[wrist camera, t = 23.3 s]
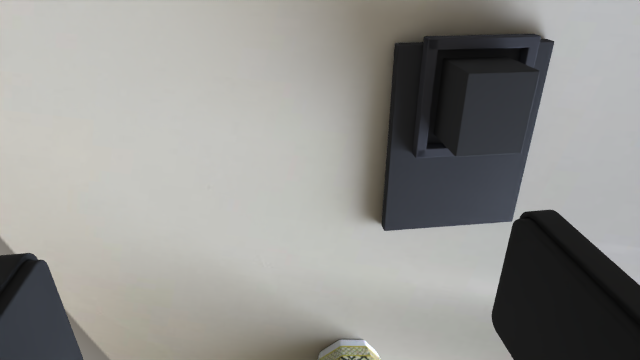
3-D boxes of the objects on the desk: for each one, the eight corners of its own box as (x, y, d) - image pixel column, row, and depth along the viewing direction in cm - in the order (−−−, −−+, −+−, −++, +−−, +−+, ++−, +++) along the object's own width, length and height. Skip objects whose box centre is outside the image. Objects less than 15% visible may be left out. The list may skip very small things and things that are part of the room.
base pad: (395, 34, 32) (403, 39, 31) (548, 30, 34) (564, 35, 32) (381, 224, 40) (387, 237, 38) (506, 215, 41) (517, 227, 40)
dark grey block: (442, 58, 33) (468, 73, 29) (506, 56, 33) (540, 70, 29) (433, 134, 35) (455, 157, 32) (492, 131, 36) (521, 153, 32)
